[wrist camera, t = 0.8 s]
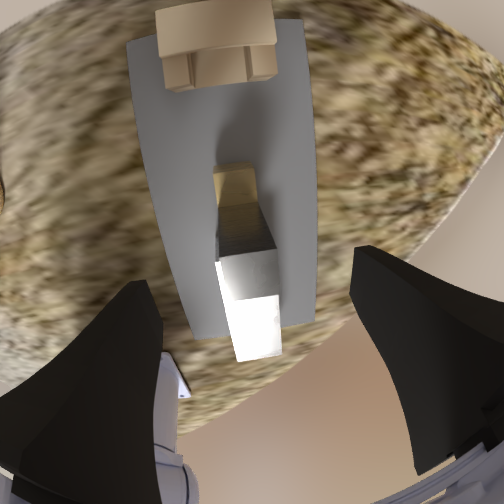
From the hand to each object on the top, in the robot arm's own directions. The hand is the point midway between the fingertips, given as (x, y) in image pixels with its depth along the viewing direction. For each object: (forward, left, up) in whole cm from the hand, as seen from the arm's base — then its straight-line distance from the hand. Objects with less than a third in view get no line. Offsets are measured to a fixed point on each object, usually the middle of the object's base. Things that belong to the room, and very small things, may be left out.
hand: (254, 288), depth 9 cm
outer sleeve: (0, -6, -8) cm, 10 cm away
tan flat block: (0, -4, -8) cm, 9 cm away
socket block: (0, +9, -8) cm, 12 cm away
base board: (0, 0, -9) cm, 9 cm away
